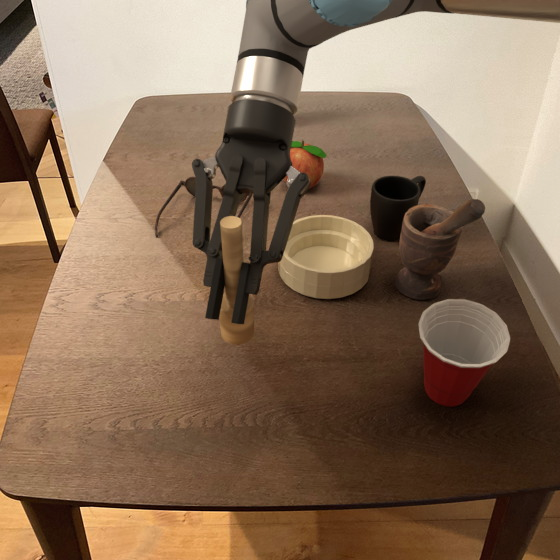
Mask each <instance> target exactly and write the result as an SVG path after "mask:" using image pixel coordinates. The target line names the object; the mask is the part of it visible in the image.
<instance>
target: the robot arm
mask: <svg viewBox="0 0 560 560" xmlns="http://www.w3.org/2000/svg"><path fill="white" fill-rule="evenodd" d="M424 12H427V13H428V12H429V13H439V14H456V15H457V14H458V15H467V16H469V15H470V16H478V17H479V16H480V17H488V18H489V17H491V18H501V19H511V20H512V19H513V20H523V21H533V22H543V23H555V24H556V23H557V24H560V0H246V1H245V14H244V19H243V25H242V31H241V37H240V43H239V48H238V49H239V50H238V54H237V59H236V60H237V61H236V65H235V70H234V74H233V82H232V85H231V91H230V95H229V99H230V101H231V103H230V104H229V105H228V107H227V113H226V117H225V123H224V128H223V134H222V141H221V144H220V146H219V147H218V148H217V150H216V151H215V155H214V156H211V157H209V158H206V159H203V160H201V158H195V159H193V161H192V162H191V167H192V171H193V174H194V177H195V178H196V192H195V197H194V210H193V225H192V227H193V229H192V246H193V247H194V248H195V249H197V250H199V251H201V252H202V253H204V254H205V255H206V263H205V269H204V274H203V279H202V282H203V286H204V287H207V288H210V289H209V293H208V300H207V305H206V309H205V310H206V311H205V317H204V318H205V319H207V320H215V321H216V320H217V321H218V320H219V321H220V319H219V315H220V310H221V304H222V299H223V294H224V293H225V281H224V268H223V255H222V242H221V229H220V221H221V220H222V219H223V218H224V217H227V216H236V215H237V212H238V208H239V205H240V203H239V202H240V201H241V199H242V196H243V193H253V194H252V197H253V206H252V207H253V208H252V220H251V221H252V222H251V234H250V235H251V236H250V238H251V239H250V251H249V256H248V260H249V262H245V261H244V262H242V266H241V271H240V277H239V282H238V288H237V294H236V299H235V305H234V310H233V316H232V321H231V323H235V324H244V321H245V315H246V310H247V304H248V299H249V294H250V295H254V296H257V295H258V294H259V292H260V289H261V282H262V277H263V271H264V268H265V267H266V265H269V264H275V263H277V264H278V262H280V261H281V260H282V257H283V254H284V251H285V248H286V244H287V241H288V238H289V235H290V232H291V228H292V225H293V222H294V221H295V219H296V216H297V212H298V208H299V205H300V202H301V199H302V198H303V197H304V195H306V192H307V191H308V190H309V189H308V188H309V187H310V185H311V182H310V179H309V177H308V175H307V174H306V173H304V172H302V173H301V172H299V171H298V170H296V169H295V168H294V167H292V161H291V158H290V150H291V144H292V141H293V137H294V131H295V126H296V122H297V121H296V117H295V114H297V112H298V110H299V104H300V98H301V92H302V87H303V80H304V75H305V69H306V64H307V59H308V53H309V50H310V49H312V48H314V47H315V48H316V47H317V46H319V45H321V44H323V43H324V42H326V41H328V40H330V39H332V38H335V37H337V36H339V35H342V34H344V33H346V32H349V31H351V30H356V29H360V28H363V27H366V26H371V25H375V24H377V23H381V22H384V21H388V20H391V19H396V18H399V17H403V16H406V15H411V14H415V13H424ZM218 168H219V170H220V173H221V174H222V176H223V179H224V180H225V183H224V184H225V187H224V195H223V197H222V199H221V203H220V205H219V208H218V213H217V217H216V220H215V222H214V226H213V230H212V233H211V227H212V209H213V194H214V193H213V192H214V189H213V185H214V184H213V179H215V178H216V176H217V169H218ZM286 176H288V180H287V184H286V186H287V188H288V189H287V191H286V193H285V196H284V199H283V203H282V205H281V209H280V211H279V215H278V218H277V222H276V225H275V228H274V231H273V234H272V237H271V241H270V244H269V247H268V250H267V244H268V243H267V242H268V241H267V240H268V226H269V212H270V204H271V194H272V191H273V190H274V189H275V188H276V187H277V186H278V185H279V184H280V183H281V182H282V181H284V180H283V179H284V178H285V177H286Z"/></svg>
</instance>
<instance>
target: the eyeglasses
mask: <svg viewBox="0 0 560 560" xmlns="http://www.w3.org/2000/svg"><path fill="white" fill-rule="evenodd" d="M225 184H226V183H224V184H223V185H222V186H218V185H214V184H213V190H214V189H216V190H218V192H219V194H220V196H221V197H222V198H223V195H224V187H225ZM182 186H183V187H185V189H186V191H187V192H188V193H189V194H190V195H191V196H192V197H194V198H195V192H196V178H195V176H189V177H187V178H186V179H185V180H180V181H179V183H178V184H177V186H176V187H175V188H174V190H172V192H171V193H170V195H169V196H168V198H167V200H166V201H164V203H163V205H162V206H161V208H160V210H159V211H158V213H157V216H156V219H155V224H154V233H155V238H158V237H159V235H158V226H159V222H160V218H161V215H162V213H163V212H164V210H165V209H166V207H167V206H168V205H169V203H170V202H171V201H172V199H173V198H174V197H175V196H176V194H177V193H178V191H179V190H180V189H181V187H182ZM252 197H253V193H243V196H242V199H241V201H240V202H239V204H242V203H243V202H244V203H243V205H242V207H241V209H240V211H239V213H238V215H237V216H236V217H238V218H240V219H241V217H242V215H243V213H244V211H245V210H246V208H247V206H248V204H249V202H250V201H251V199H252Z"/></svg>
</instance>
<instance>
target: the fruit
mask: <svg viewBox="0 0 560 560" xmlns="http://www.w3.org/2000/svg"><path fill="white" fill-rule="evenodd" d="M326 157H327V153H326V151H324V150H323V149H322V148H321V147H319V146H316V145H313V144H309V143H306V142H305V140H304V139H301V141H299V140H292V144H291V150H290V158H291V161H292V167H294V168H295V169H296V170H298V171H299V172H301V173H302V172H304V173H306V174H307V175H308V177H309V179H310V182H311V185H310V187H309V188H308V190H310V189H312V188H313V187H315V186H317V184H319V182H320V181H321V179H322V177H323V175H324V168H325V162H324V159H325V158H326ZM287 180H288V176H286V177H285V178H284V179H283V180H282V181H284V183H285V185H287Z"/></svg>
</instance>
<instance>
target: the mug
mask: <svg viewBox="0 0 560 560" xmlns="http://www.w3.org/2000/svg"><path fill="white" fill-rule="evenodd" d="M426 184H427V179H426V177H424V175H417V176H414V177H413V178H412V179H410V178H408V177H406V176H400V175H384V176H381V177H378V178H377V179H375V180H374V181H373V182H372V185H371V191H370V200H369V209H370V220H371V225H372V230H373V234H374V236H375V237H376V238H377V239H379V240H381V241H384V242H390V243H394V242H398V241H400V235H401V230H402V224H403V219H404V216H405V213H406V212H407V211H408V210H409V209H410V208H412V207H414V206H417V205H419V201H420V198H421V196H422V194H423V192H424V190H425V187H426Z"/></svg>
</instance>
